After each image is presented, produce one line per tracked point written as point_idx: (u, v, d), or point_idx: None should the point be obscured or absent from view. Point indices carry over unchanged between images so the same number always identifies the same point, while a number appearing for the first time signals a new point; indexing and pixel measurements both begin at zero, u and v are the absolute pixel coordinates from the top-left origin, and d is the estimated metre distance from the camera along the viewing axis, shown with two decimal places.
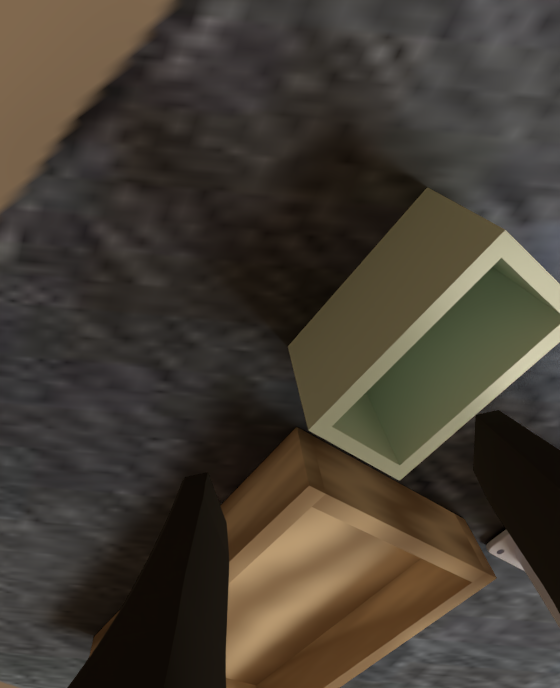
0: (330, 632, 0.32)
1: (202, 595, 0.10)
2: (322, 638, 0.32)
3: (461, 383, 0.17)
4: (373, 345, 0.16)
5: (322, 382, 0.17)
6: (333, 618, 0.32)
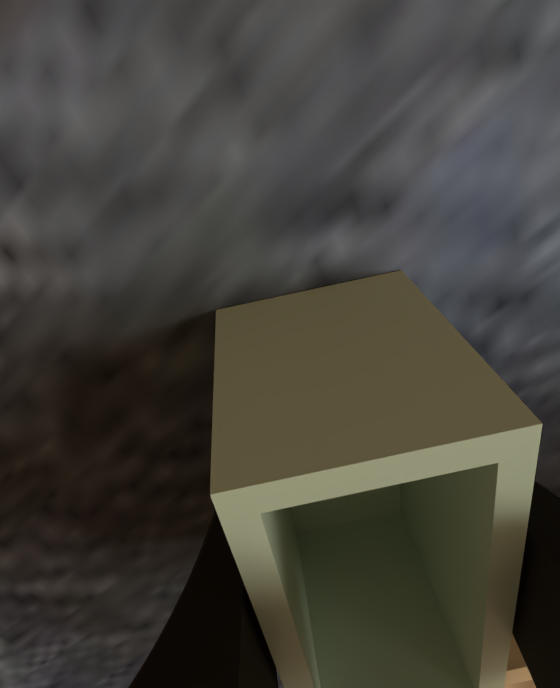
0: None
1: None
2: None
3: (461, 561, 0.10)
4: None
5: None
6: None
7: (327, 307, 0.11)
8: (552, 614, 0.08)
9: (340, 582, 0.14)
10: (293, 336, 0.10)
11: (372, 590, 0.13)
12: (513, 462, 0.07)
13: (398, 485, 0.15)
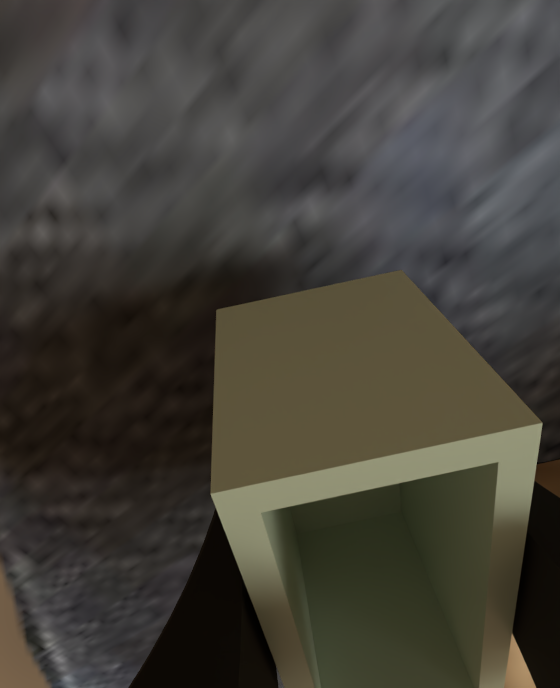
0: None
1: None
2: None
3: (462, 561, 0.10)
4: None
5: None
6: None
7: (327, 307, 0.11)
8: (552, 614, 0.08)
9: (340, 581, 0.14)
10: (293, 336, 0.10)
11: (372, 590, 0.13)
12: (512, 461, 0.07)
13: (398, 485, 0.15)
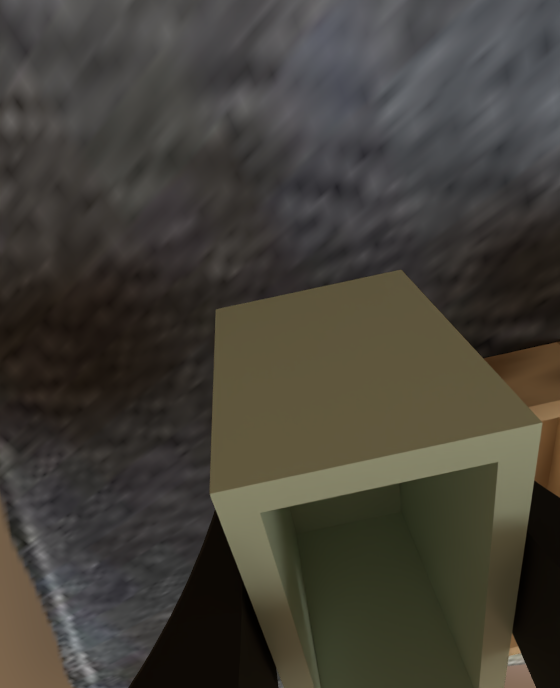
0: None
1: None
2: None
3: (461, 561, 0.10)
4: None
5: None
6: None
7: (327, 306, 0.11)
8: (552, 614, 0.08)
9: (340, 581, 0.14)
10: (293, 335, 0.10)
11: (372, 590, 0.13)
12: (512, 461, 0.07)
13: (398, 485, 0.15)
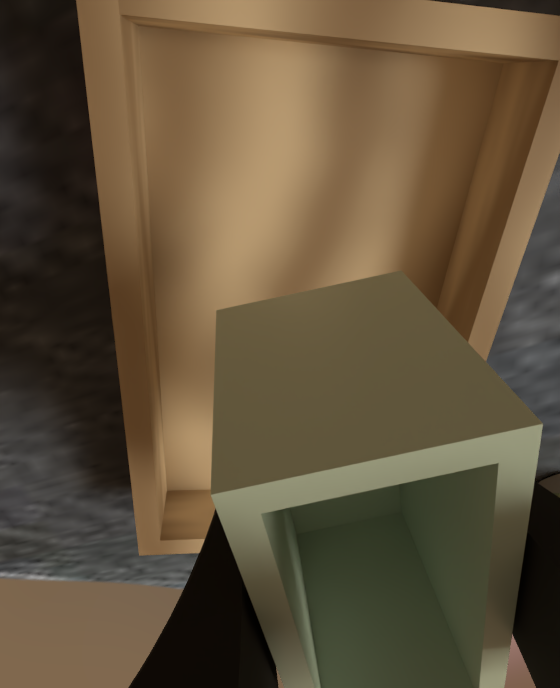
0: None
1: None
2: None
3: (462, 561, 0.10)
4: None
5: None
6: None
7: (327, 307, 0.11)
8: (552, 614, 0.08)
9: (340, 582, 0.14)
10: (293, 336, 0.10)
11: (372, 590, 0.13)
12: (513, 462, 0.07)
13: (398, 485, 0.15)
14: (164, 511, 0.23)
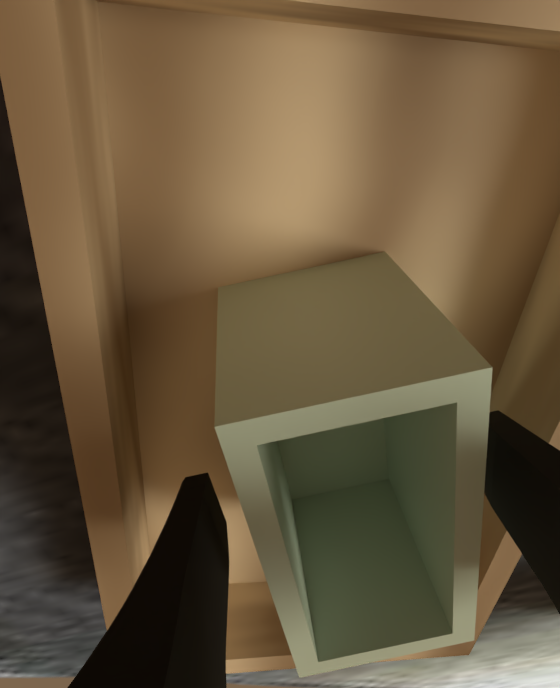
0: None
1: (202, 595, 0.10)
2: None
3: (435, 506, 0.11)
4: None
5: None
6: None
7: (317, 283, 0.12)
8: None
9: (331, 539, 0.15)
10: (286, 307, 0.11)
11: (360, 546, 0.15)
12: (469, 401, 0.08)
13: (385, 453, 0.16)
14: None
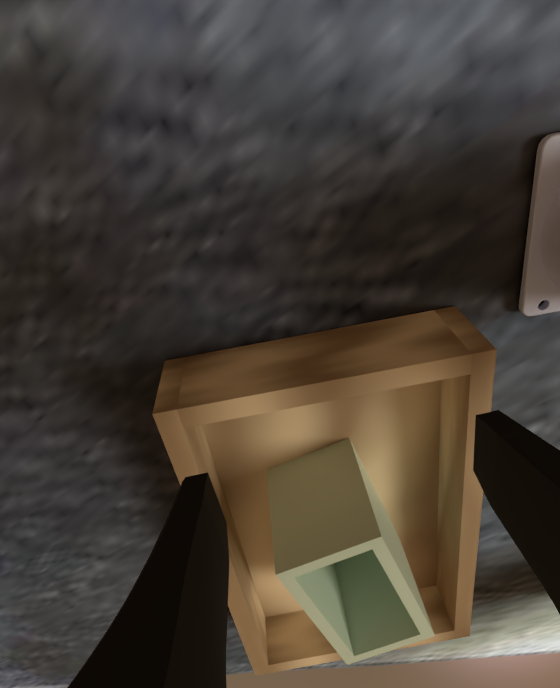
0: (439, 504, 0.27)
1: (202, 595, 0.10)
2: (439, 514, 0.27)
3: None
4: None
5: None
6: (427, 490, 0.27)
7: (315, 468, 0.23)
8: None
9: (357, 585, 0.26)
10: (300, 490, 0.23)
11: (373, 587, 0.26)
12: (377, 548, 0.19)
13: None
14: (266, 637, 0.30)
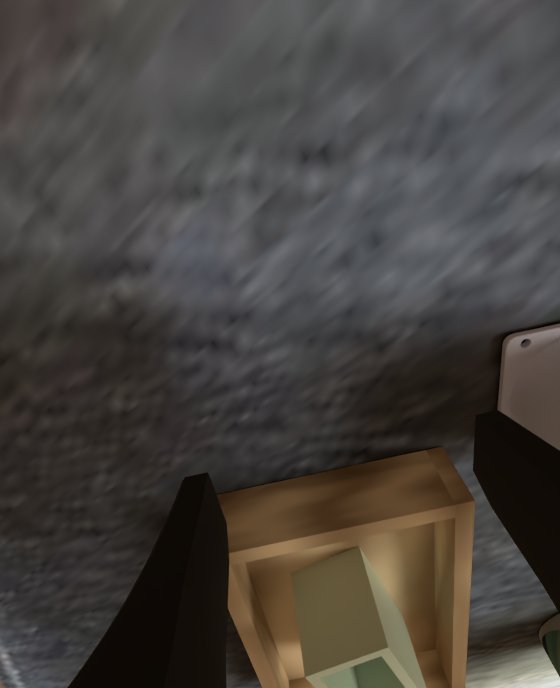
0: (436, 590, 0.32)
1: (202, 595, 0.10)
2: (436, 597, 0.32)
3: None
4: None
5: None
6: (425, 580, 0.32)
7: (331, 575, 0.28)
8: None
9: (368, 661, 0.31)
10: (320, 595, 0.28)
11: (382, 665, 0.31)
12: (385, 655, 0.24)
13: None
14: None
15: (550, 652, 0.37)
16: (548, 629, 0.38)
